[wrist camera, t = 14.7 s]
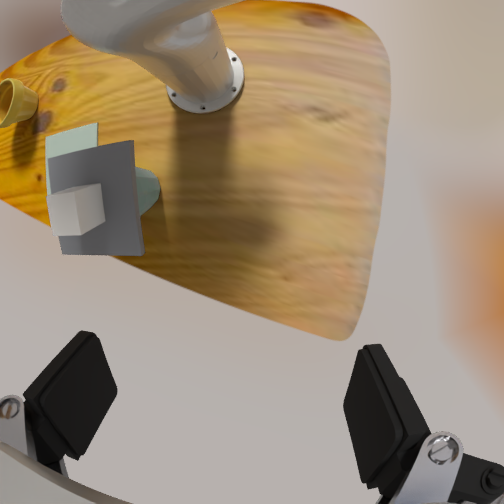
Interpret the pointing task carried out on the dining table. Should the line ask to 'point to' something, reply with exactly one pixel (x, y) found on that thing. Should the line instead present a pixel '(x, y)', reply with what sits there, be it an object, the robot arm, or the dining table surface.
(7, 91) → the plant pot
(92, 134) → the mat
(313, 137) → the dining table surface
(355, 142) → the dining table surface
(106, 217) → the lid
